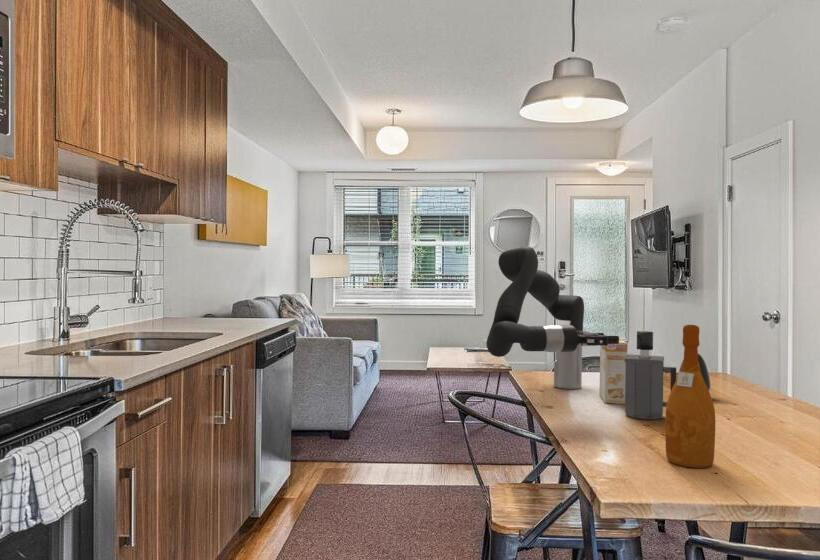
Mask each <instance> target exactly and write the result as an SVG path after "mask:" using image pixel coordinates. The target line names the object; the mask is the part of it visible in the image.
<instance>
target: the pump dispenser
mask: <svg viewBox="0 0 820 560" xmlns="http://www.w3.org/2000/svg"><path fill="white" fill-rule="evenodd" d="M698 362H699V365H700V372H701V374H702V377H703V379H704V381H705V384H706V386H707V388H708V390H709V391H710V390H711V379H710V374H709V371H708V367H707V364H706V362H705V359H704V357H703V356H702V355H701V354H700V353H698ZM682 363H683V360H682V361H681V364H680V367H679V371H678V374H677V376H678V375H679V372H680V371H681V365H682Z"/></svg>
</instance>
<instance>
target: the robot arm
mask: <svg viewBox="0 0 820 560" xmlns="http://www.w3.org/2000/svg"><path fill="white" fill-rule="evenodd" d="M538 267H539V259H538V255H537V252H536V250H535V249H534V248H533V247H532V246H521V247H516V248H512V249H507V250H505V251H503V252H502V253H501V254H499V257H498V268H499V269H500V271H501V273H502V275H503V276H504V277H505V278H506V279H507V280H509V281H511V283H510V285H509V286H508V287H506V288H505V289H504V290H503V292H502V293H501V294H500V297H499V299H498V301H497V303H496V304H497V305H496V308H495V312H494V317H493V322H492V324H491V327H490V329H489V333H488V336H487V339H486V349H487V351H488V352H489V353H490V355H492V356H493V357H496V358H501V357H504V356H507V355H508V354H509V353H510V351H511V350H512V347H513V345H514V344H519V345H520V348H521V349H522V350H523V351H525V352H545V353H546V352H547V353H555V359H554V361H553V367H554V368H553V387H554V388H560V389H564V390H565V389H566V390H567V389H568V390H578V389H581V388H582V387H583V386H582V383H583V382H582V379H583V378H582V376H583V375H582V373H583V370H582V369H583V368H582V367H583V365H582V364H583V359H582V358H583V357H582V356H583V347H590V346H591V347H593V346H594V347H597V346H600V345H605V346H606V345H608V344H618V343H619V339H620V336H619V335H605V333H603V332H590V331H586V330H584V317H585V303H584V299H583V297H582V296H580V295H571V294H570V295H563V294H560V290H561V289H560V284H559V283H558V280H556V279H555V278H554V277H553V275H551V274H550V273H548V272H546V271H544V270H540V269H538ZM527 294H530V295H531V296H532V297H533V298H534V299H535V300H537V301H538V302H539V303H540V304H542V305H543V307H545V308H546V309H547V311H548V312H549V314H550V315H551V316H552V318H554V319H555V320H558V321H565V322H567V321H569V322H570V323H569V324H555V325H554V324H552V325H550V324H548V325H543V326H541V325H537V326H536V325H530V326H528V325H525V324H521V323H519V321H520V317H521V312H522V308H523V304H524V300H525V298H526V296H527ZM600 341H602V342H600Z"/></svg>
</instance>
